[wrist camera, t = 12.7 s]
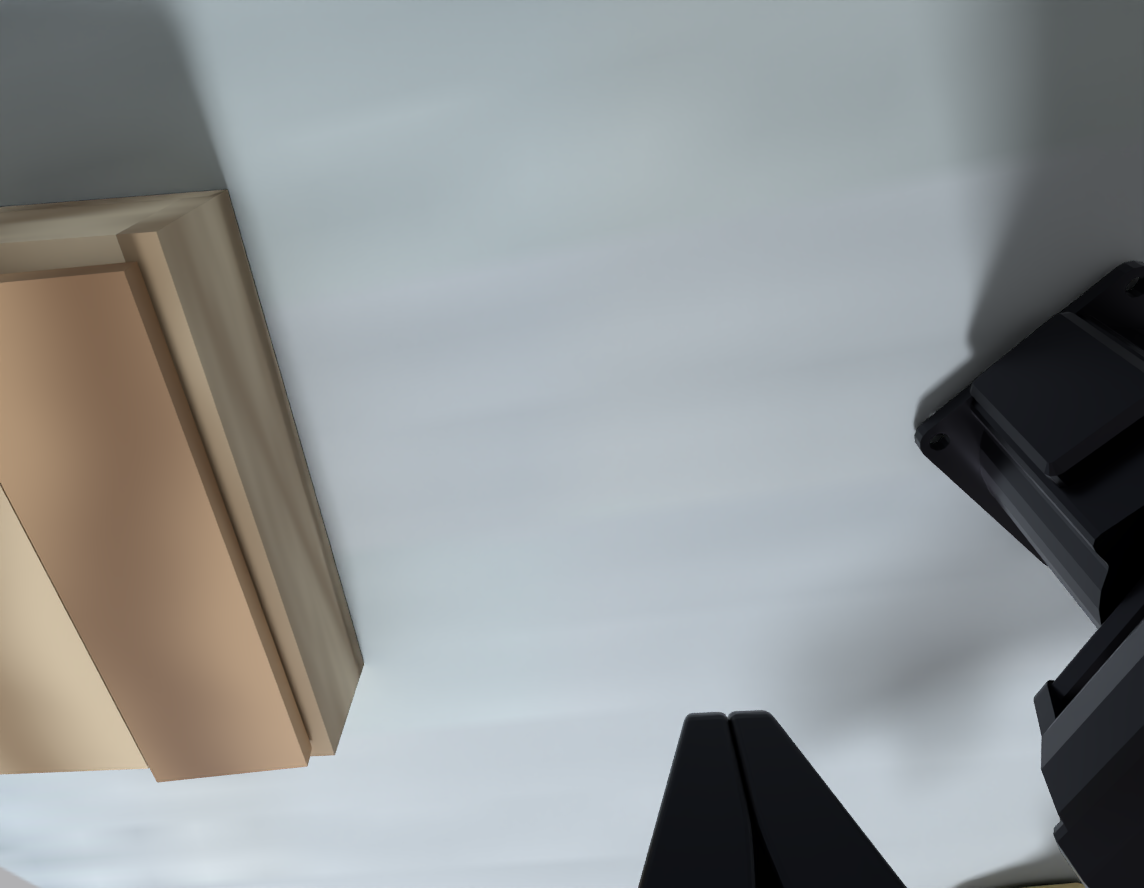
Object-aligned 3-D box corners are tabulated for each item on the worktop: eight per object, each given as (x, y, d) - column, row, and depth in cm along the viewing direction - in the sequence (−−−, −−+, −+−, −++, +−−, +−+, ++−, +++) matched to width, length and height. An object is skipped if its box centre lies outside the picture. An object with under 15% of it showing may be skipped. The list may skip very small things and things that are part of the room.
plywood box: (227, 189, 18) (141, 240, 15) (363, 663, 26) (328, 773, 22) (-188, 221, 19) (-369, 278, 15) (65, 677, 26) (-16, 786, 23)
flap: (136, 261, 15) (123, 271, 15) (311, 748, 22) (307, 766, 22) (-79, 281, 15) (-99, 292, 15) (165, 763, 22) (157, 782, 22)
